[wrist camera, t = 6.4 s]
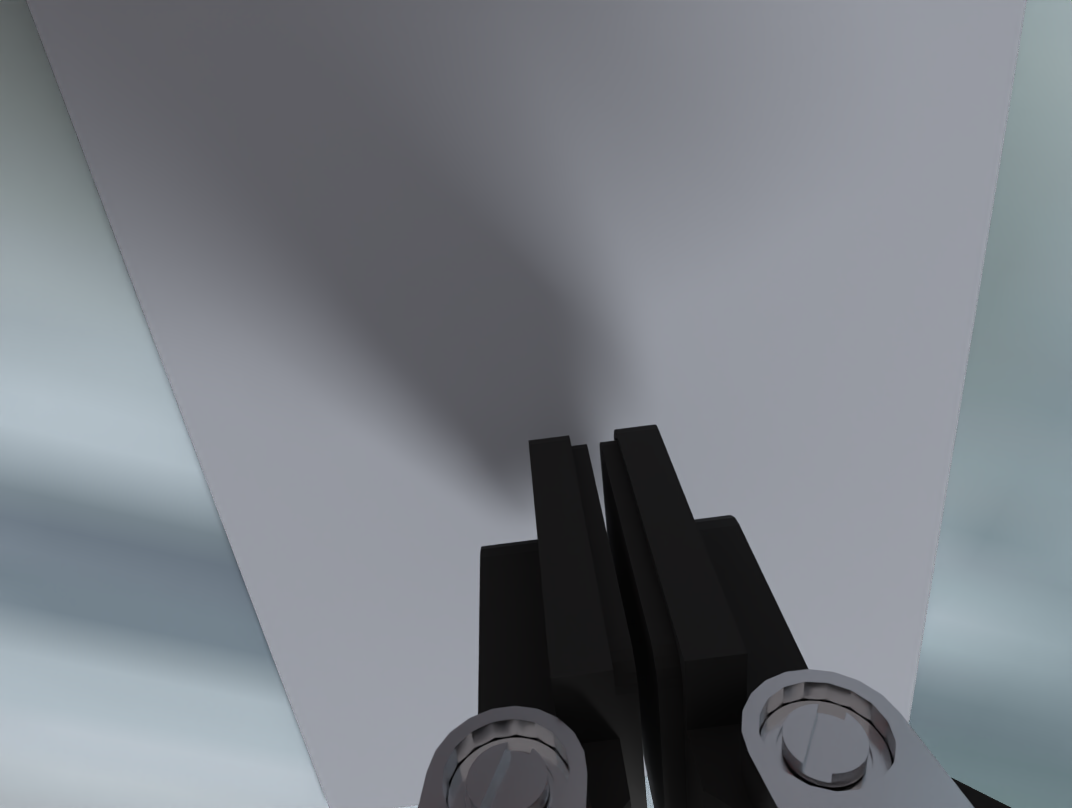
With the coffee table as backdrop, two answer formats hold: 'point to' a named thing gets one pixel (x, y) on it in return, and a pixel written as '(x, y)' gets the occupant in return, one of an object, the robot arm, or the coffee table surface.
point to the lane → (546, 300)
